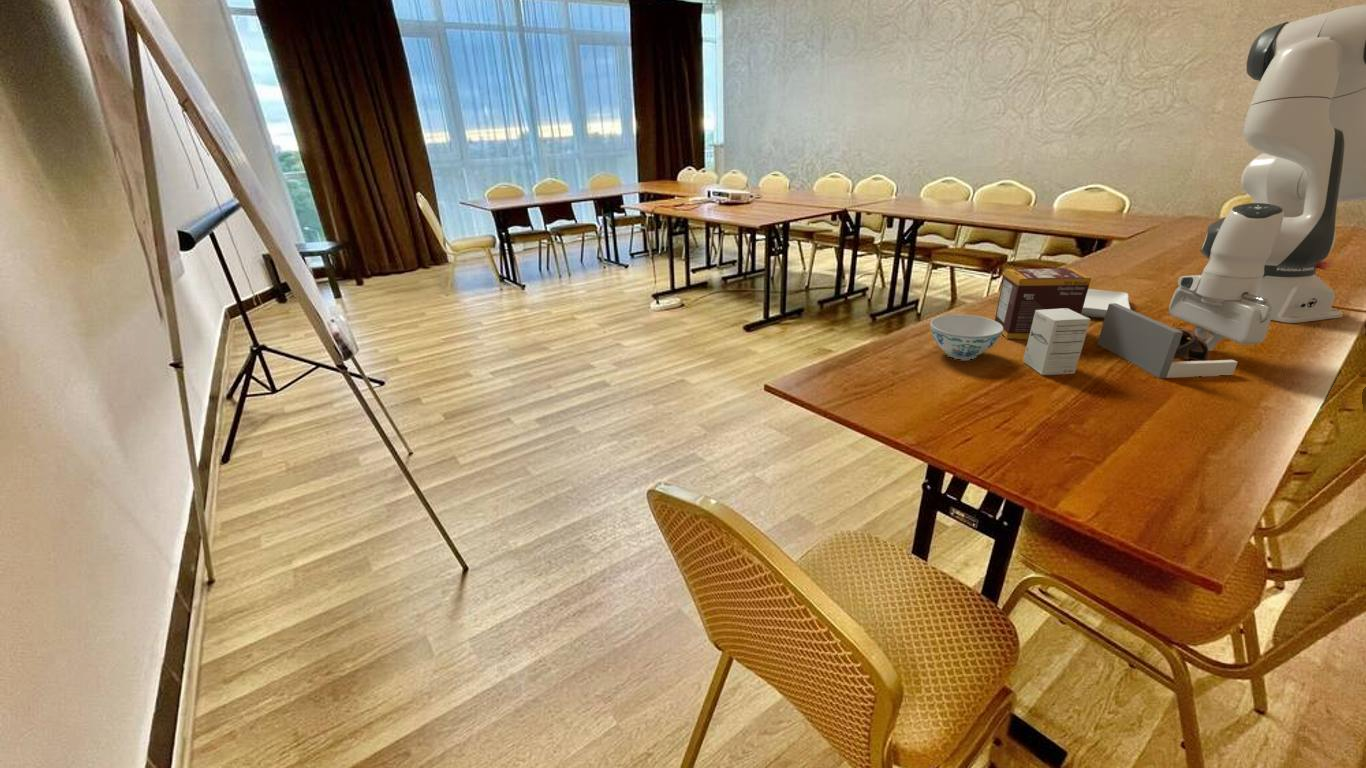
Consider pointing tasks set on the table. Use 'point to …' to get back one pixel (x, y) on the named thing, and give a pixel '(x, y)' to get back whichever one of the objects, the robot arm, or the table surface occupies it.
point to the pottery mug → (1191, 346)
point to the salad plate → (1102, 302)
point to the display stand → (1153, 345)
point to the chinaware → (965, 335)
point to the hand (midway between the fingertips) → (1203, 348)
